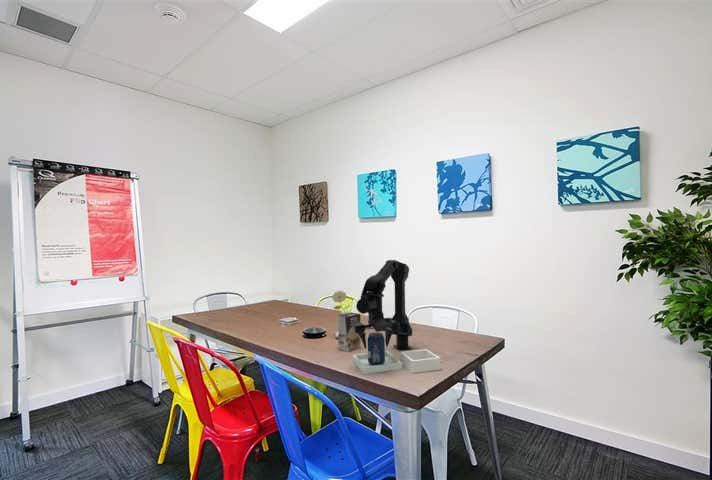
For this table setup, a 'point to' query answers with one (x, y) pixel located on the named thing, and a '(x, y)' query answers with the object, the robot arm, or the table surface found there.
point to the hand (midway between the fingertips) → (376, 347)
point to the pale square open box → (420, 361)
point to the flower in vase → (339, 298)
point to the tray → (366, 368)
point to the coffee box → (348, 332)
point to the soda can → (376, 349)
